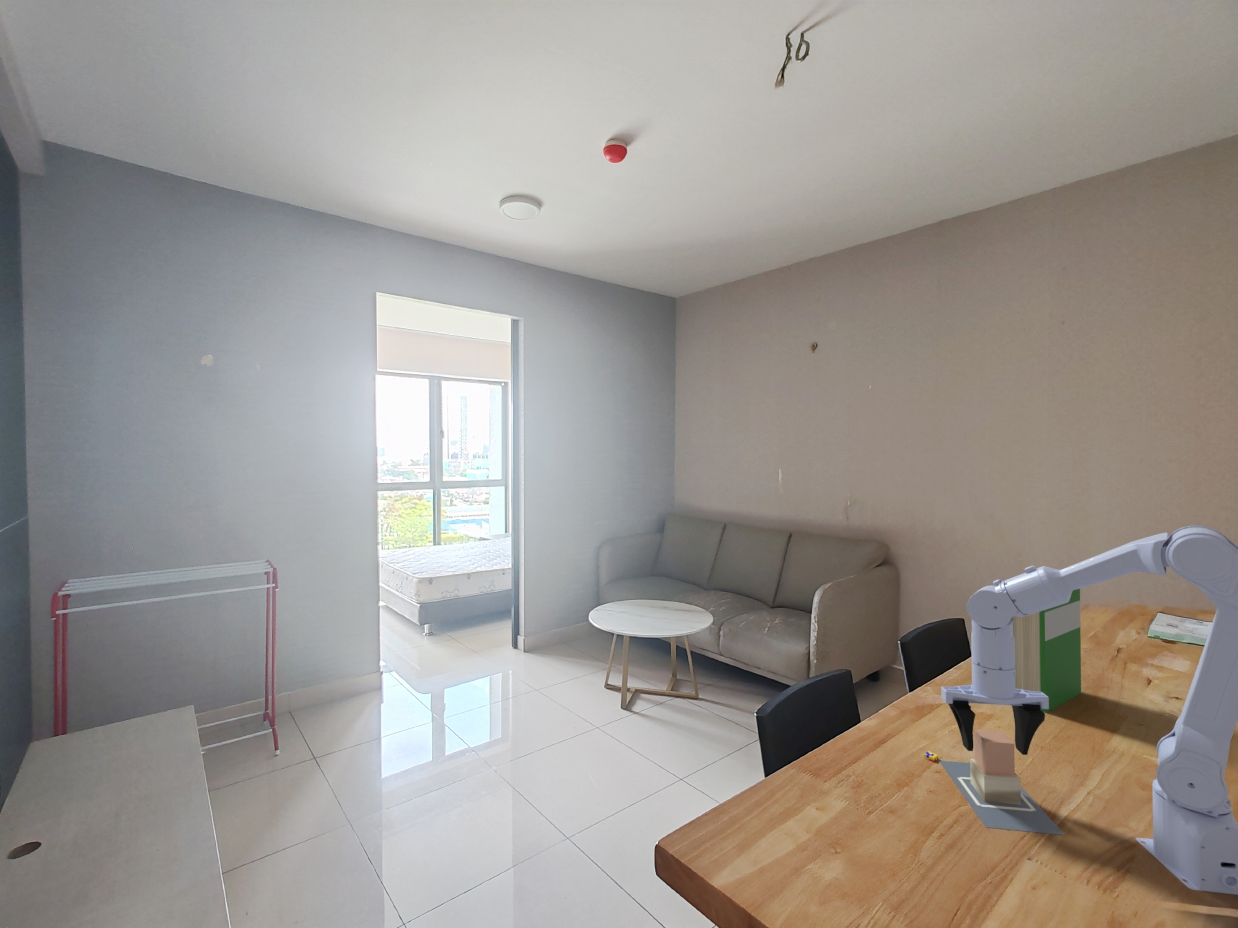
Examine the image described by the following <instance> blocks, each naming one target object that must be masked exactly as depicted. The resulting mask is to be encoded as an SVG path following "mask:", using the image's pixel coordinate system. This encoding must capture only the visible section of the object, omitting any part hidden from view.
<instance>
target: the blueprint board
mask: <svg viewBox="0 0 1238 928" xmlns="http://www.w3.org/2000/svg"><path fill="white" fill-rule="evenodd" d="M938 762H939V763H940V765H941V766H942V767H943V769H944V770H945V772H946V773H947V775H948V776H949V777H950V778H951V780H952V781H953V784H955V786H956V787H957V788H958V790H959V791H960V793H961V794H962V796H963V797H964V799H965V800H966V801H967V803H968V804H969V805H970V806H969V807H971V808H972V810H973V812H974V813H975V814H976V815H977V817H978V818H979V820H980V821H981V823H982V824H983V825H984V827H985V828H988V829H998V830H1005V831H1006V830H1008V831H1016V832H1017V831H1018V832H1027V833H1029V832H1030V833H1040V834H1048V835H1058V836H1065V835H1066V834H1065V833H1064V832H1063V831H1062V830H1061V829H1060V828H1059V826H1058V825H1057V824H1056V823H1055V822H1054V821H1053V820H1052V819H1051V818H1050V817H1049V815H1048V814H1047V813H1046V812H1045V811H1044V810H1043V809H1042V808H1041V806H1040V805H1039V804H1038V803H1037V802H1036V801H1035V800H1034V799H1033V798H1032V797H1031V795H1030V794H1029V793H1028V792H1027V791H1026V790H1025V789H1024V788H1023V787H1022V786H1021V805H1018V804H1007V803H995V802H985V801H984V800H983V799H982V797H981V796H980V795H979V793H978V792H977V791H976V790H975V788H974V787H973V786H972V784H971V780H970V762H962V761H953V760H952V761H950V760H949V761H948V760H938Z"/></svg>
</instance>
